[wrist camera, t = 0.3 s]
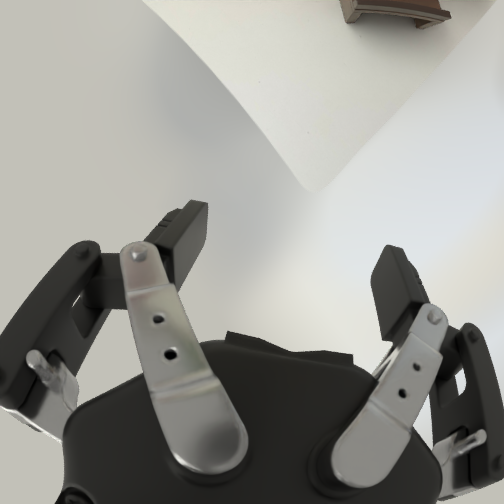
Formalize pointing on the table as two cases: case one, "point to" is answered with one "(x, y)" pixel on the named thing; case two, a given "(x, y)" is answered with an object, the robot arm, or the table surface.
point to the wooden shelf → (397, 10)
